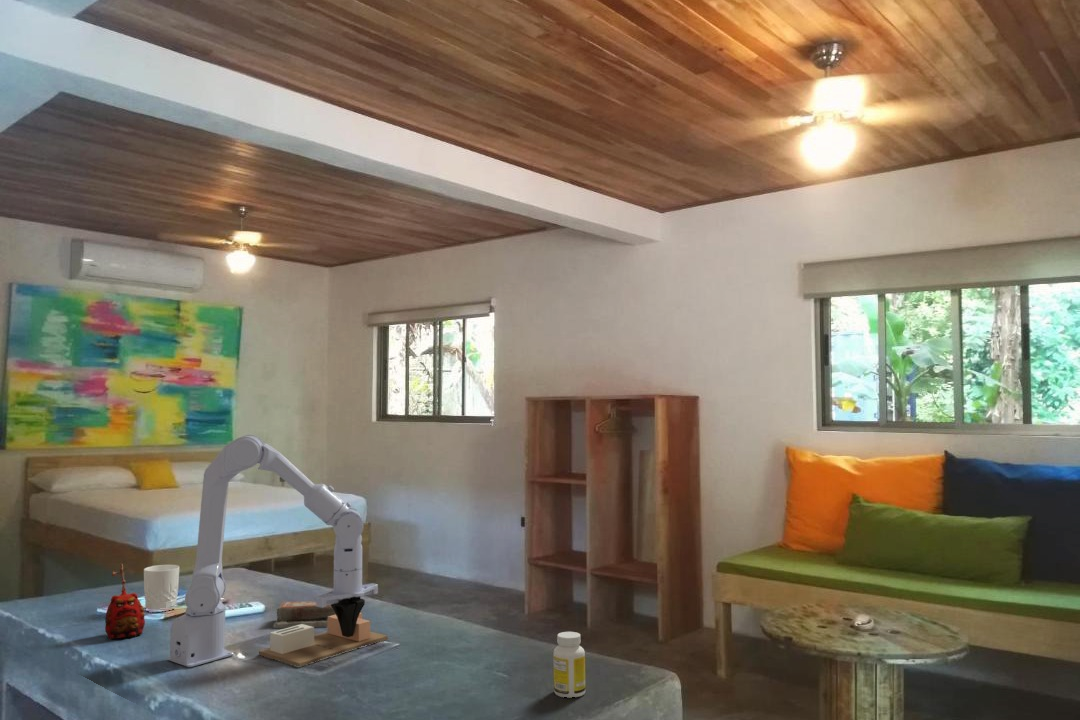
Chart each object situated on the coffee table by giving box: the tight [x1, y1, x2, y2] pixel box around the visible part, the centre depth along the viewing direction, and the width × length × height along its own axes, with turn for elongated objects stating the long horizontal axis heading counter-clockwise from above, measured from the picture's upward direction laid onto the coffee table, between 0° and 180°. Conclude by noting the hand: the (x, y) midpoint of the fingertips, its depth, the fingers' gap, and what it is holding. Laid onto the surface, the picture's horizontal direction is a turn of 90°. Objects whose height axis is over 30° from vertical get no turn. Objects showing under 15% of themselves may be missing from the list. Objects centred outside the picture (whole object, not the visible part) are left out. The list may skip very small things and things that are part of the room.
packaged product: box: [273, 600, 362, 629], centre depth 183 cm, size 18×5×10 cm
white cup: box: [143, 564, 181, 609], centre depth 194 cm, size 8×8×10 cm
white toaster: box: [269, 624, 315, 654], centre depth 161 cm, size 8×4×4 cm, turn 143°
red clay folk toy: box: [104, 563, 146, 640], centre depth 173 cm, size 8×7×15 cm
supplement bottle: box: [552, 631, 586, 699], centre depth 137 cm, size 5×5×10 cm
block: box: [327, 612, 371, 641], centre depth 169 cm, size 6×10×4 cm, turn 53°
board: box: [258, 630, 389, 666], centre depth 163 cm, size 22×13×1 cm, turn 143°
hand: (347, 635), depth 164 cm, fingers closed
